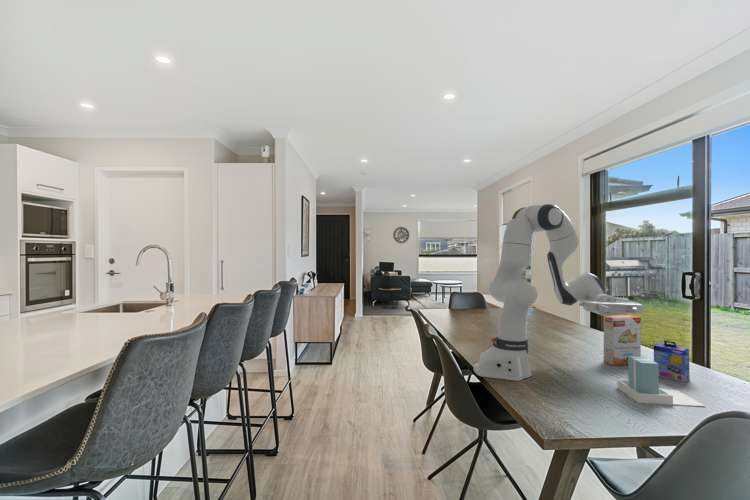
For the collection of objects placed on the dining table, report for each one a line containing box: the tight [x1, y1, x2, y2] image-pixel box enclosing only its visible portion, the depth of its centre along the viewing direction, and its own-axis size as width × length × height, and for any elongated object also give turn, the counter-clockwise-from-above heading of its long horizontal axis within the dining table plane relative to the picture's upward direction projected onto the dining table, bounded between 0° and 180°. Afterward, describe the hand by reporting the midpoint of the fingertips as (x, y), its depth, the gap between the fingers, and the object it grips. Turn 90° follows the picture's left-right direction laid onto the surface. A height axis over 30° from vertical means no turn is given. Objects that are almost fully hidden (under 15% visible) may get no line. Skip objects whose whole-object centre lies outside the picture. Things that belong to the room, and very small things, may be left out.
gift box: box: [627, 356, 660, 394], centre depth 117 cm, size 5×8×12 cm, turn 170°
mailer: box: [616, 378, 706, 408], centre depth 116 cm, size 19×13×3 cm
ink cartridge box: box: [653, 339, 691, 383], centre depth 134 cm, size 10×6×14 cm, turn 34°
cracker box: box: [603, 314, 642, 366], centre depth 152 cm, size 14×6×21 cm, turn 99°
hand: (622, 310), depth 130 cm, fingers open, 8 cm apart
